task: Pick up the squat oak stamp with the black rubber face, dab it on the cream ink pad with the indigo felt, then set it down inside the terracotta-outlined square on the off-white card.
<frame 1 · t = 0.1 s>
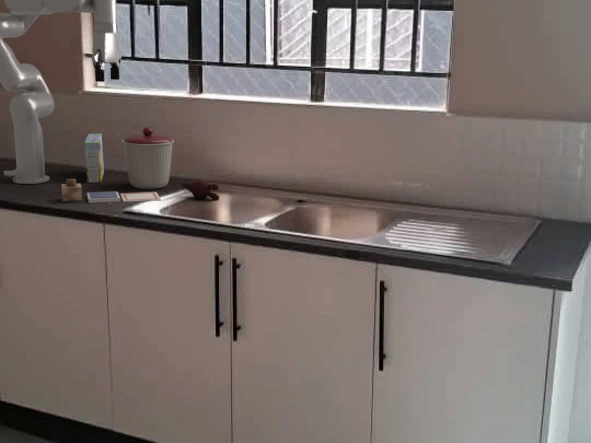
hand: (107, 80, 279), 37 cm above the worktop, tool pointing down, fingers open, 9 cm apart
stamp: (72, 200, 269), on the worktop
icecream: (199, 198, 276), on the worktop
ink pad: (103, 198, 272), on the worktop
snack box: (95, 178, 307), on the worktop
marked card: (140, 197, 275), on the worktop
canister: (149, 187, 292), on the worktop
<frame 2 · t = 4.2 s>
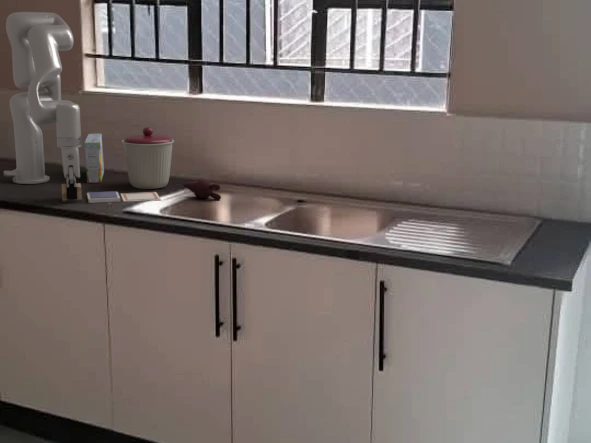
hand: (71, 196, 269), 1 cm above the worktop, tool pointing down, fingers closed on stamp, 6 cm apart
stamp: (72, 200, 269), on the worktop, touching gripper
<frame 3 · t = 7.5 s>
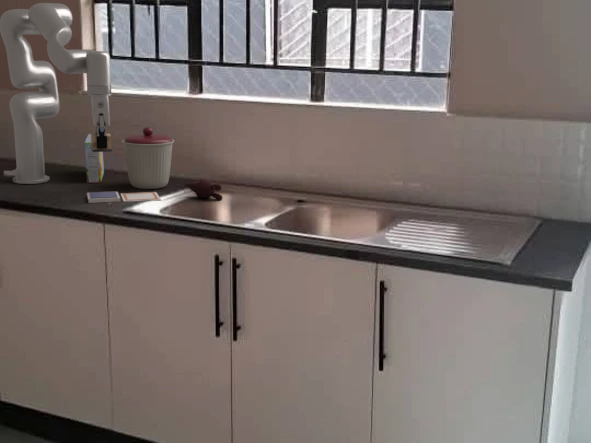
hand: (101, 146, 268), 17 cm above the worktop, tool pointing down, fingers closed on stamp, 6 cm apart
stamp: (101, 150, 268), point 16 cm above the worktop, touching gripper
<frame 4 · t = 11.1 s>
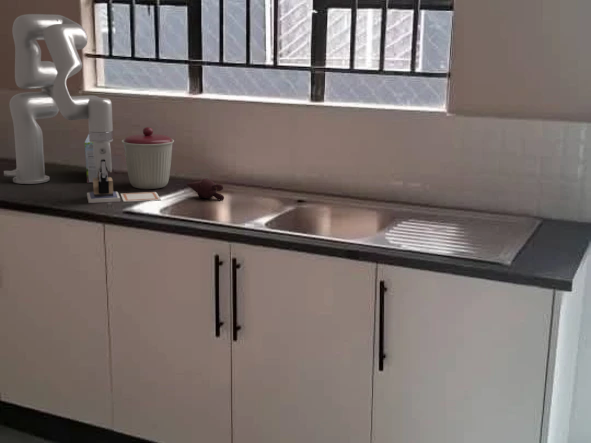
hand: (103, 190, 271), 3 cm above the worktop, tool pointing down, fingers closed on stamp, 6 cm apart
stamp: (103, 194, 271), point 2 cm above the worktop, touching gripper
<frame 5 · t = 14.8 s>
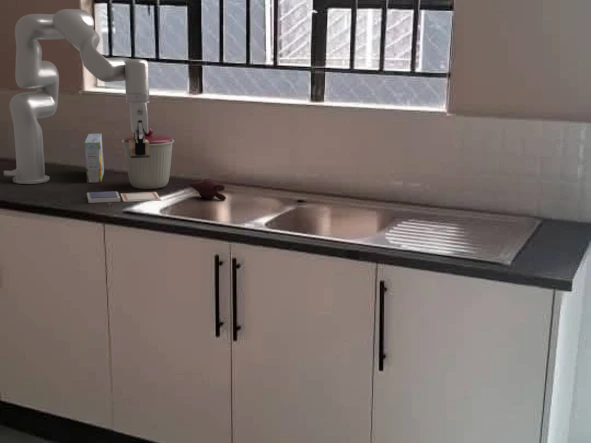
hand: (139, 152, 271), 15 cm above the worktop, tool pointing down, fingers closed on stamp, 6 cm apart
stamp: (139, 156, 272), point 14 cm above the worktop, touching gripper
when the fingers open (2 cm above the worktop, at t = 18.0 s): stamp stays where it is, resting on marked card.
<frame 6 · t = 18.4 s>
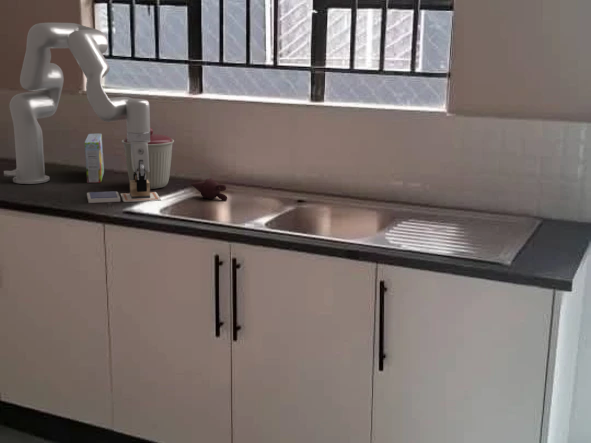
hand: (140, 188, 274), 3 cm above the worktop, tool pointing down, fingers open, 9 cm apart
stamp: (140, 196, 275), resting on marked card
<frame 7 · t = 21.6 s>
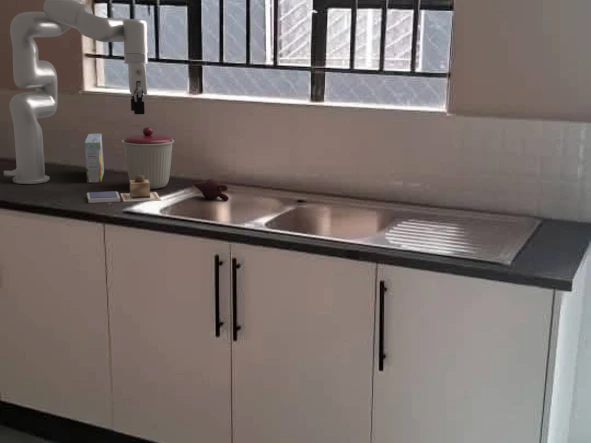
hand: (137, 112, 268), 28 cm above the worktop, tool pointing down, fingers open, 9 cm apart
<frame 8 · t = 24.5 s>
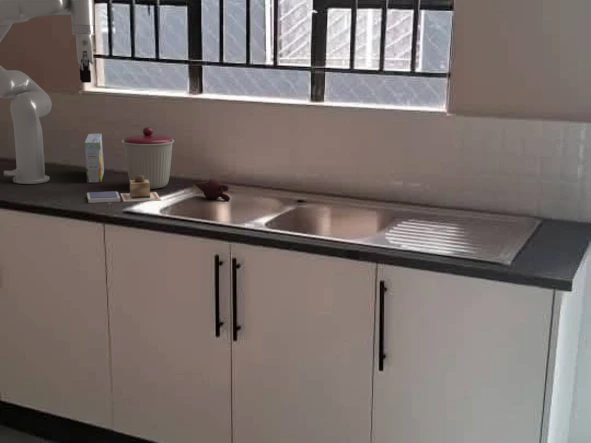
hand: (85, 81, 285), 36 cm above the worktop, tool pointing down, fingers open, 9 cm apart
at the end: stamp 0.1 cm off-centre on the marked card, point 0.3 cm above the marked card's base; stamp tilted 0°; the gripper is holding nothing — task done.
